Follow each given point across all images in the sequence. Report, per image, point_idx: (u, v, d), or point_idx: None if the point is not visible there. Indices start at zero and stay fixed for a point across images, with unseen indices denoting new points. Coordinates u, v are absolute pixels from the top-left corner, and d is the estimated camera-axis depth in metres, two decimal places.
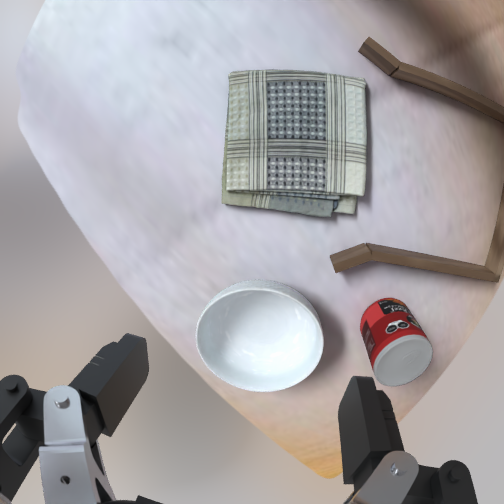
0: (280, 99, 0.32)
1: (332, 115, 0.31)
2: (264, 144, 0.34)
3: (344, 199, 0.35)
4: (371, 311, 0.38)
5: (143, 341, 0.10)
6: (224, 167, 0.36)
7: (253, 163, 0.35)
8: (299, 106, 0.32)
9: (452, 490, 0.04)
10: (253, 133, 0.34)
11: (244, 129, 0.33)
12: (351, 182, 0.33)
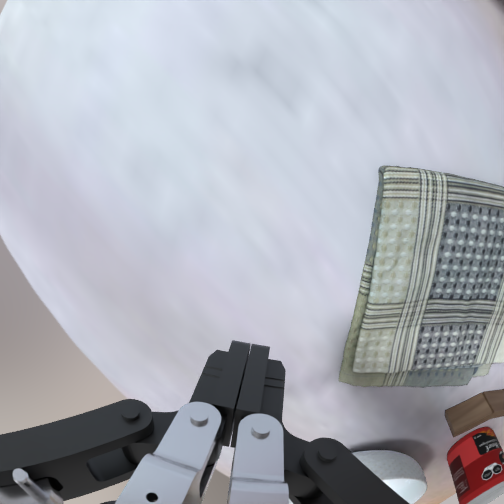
0: (460, 236, 0.17)
1: None
2: (421, 308, 0.19)
3: None
4: (466, 448, 0.23)
5: None
6: (352, 336, 0.21)
7: (400, 336, 0.20)
8: (482, 252, 0.16)
9: (316, 469, 0.05)
10: (412, 293, 0.19)
11: (401, 287, 0.18)
12: (503, 350, 0.18)
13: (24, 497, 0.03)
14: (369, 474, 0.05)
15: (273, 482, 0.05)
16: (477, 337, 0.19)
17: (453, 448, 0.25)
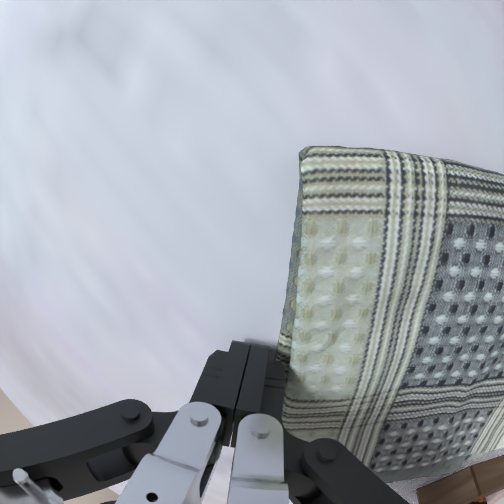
0: (470, 286, 0.08)
1: None
2: (386, 401, 0.11)
3: None
4: None
5: None
6: None
7: (347, 438, 0.11)
8: None
9: (316, 469, 0.05)
10: (367, 386, 0.10)
11: (344, 378, 0.10)
12: None
13: (24, 497, 0.03)
14: (369, 474, 0.05)
15: (273, 482, 0.05)
16: (476, 425, 0.10)
17: None
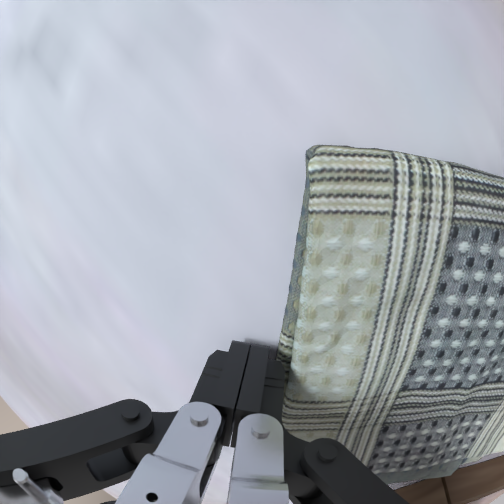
0: (473, 290, 0.08)
1: None
2: (386, 403, 0.11)
3: None
4: None
5: None
6: None
7: (346, 439, 0.11)
8: None
9: (316, 469, 0.05)
10: (368, 388, 0.10)
11: (345, 380, 0.10)
12: None
13: (24, 497, 0.03)
14: (369, 474, 0.05)
15: (273, 482, 0.05)
16: (474, 429, 0.10)
17: None
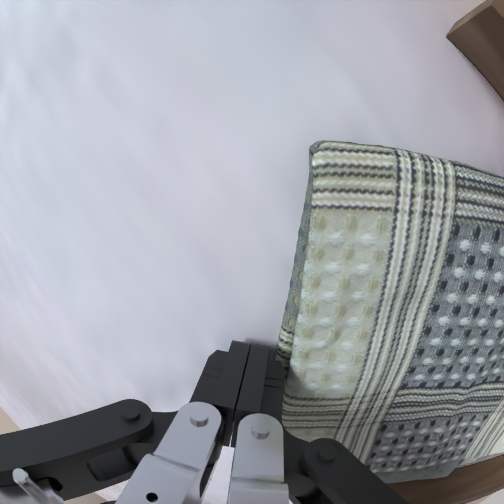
0: (473, 288, 0.08)
1: None
2: (385, 401, 0.11)
3: None
4: None
5: None
6: None
7: (344, 437, 0.11)
8: None
9: (316, 469, 0.05)
10: (367, 385, 0.10)
11: (344, 377, 0.10)
12: None
13: (24, 497, 0.03)
14: (369, 474, 0.05)
15: (273, 482, 0.05)
16: (472, 429, 0.10)
17: None
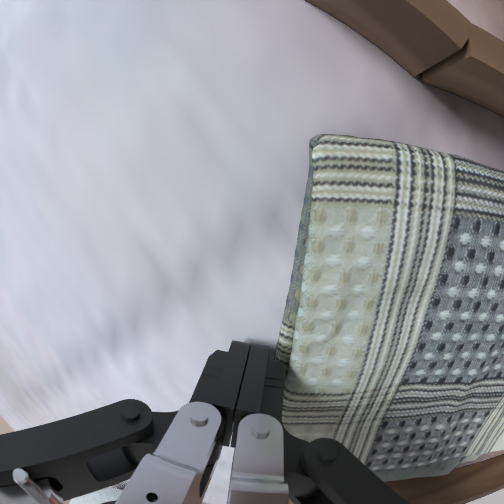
0: (474, 282, 0.08)
1: None
2: (386, 397, 0.11)
3: None
4: None
5: None
6: None
7: (345, 434, 0.11)
8: None
9: (316, 469, 0.05)
10: (368, 380, 0.10)
11: (345, 371, 0.10)
12: None
13: (24, 497, 0.03)
14: (369, 474, 0.05)
15: (273, 482, 0.05)
16: (473, 426, 0.10)
17: None
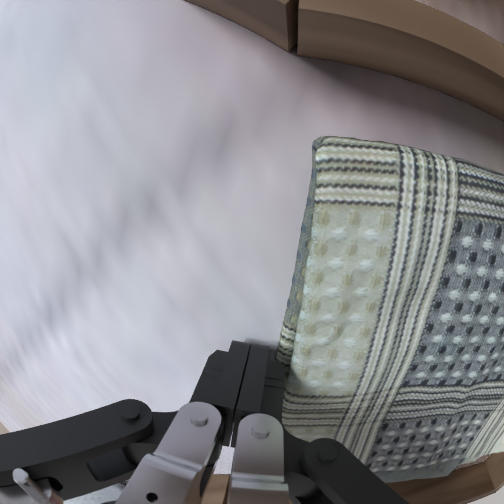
0: (475, 285, 0.08)
1: None
2: (386, 399, 0.11)
3: None
4: None
5: None
6: None
7: (345, 436, 0.11)
8: None
9: (316, 469, 0.05)
10: (369, 383, 0.10)
11: (346, 374, 0.10)
12: None
13: (24, 497, 0.03)
14: (369, 474, 0.05)
15: (273, 482, 0.05)
16: (473, 428, 0.10)
17: None
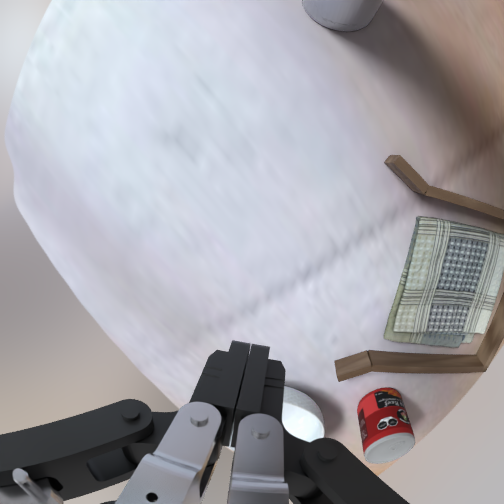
0: (455, 255, 0.31)
1: (485, 273, 0.31)
2: (432, 293, 0.34)
3: (469, 333, 0.35)
4: (368, 402, 0.39)
5: None
6: (394, 309, 0.36)
7: (420, 310, 0.34)
8: (466, 264, 0.31)
9: (316, 469, 0.05)
10: (428, 285, 0.33)
11: (422, 281, 0.33)
12: (480, 324, 0.33)
13: (24, 497, 0.03)
14: (369, 474, 0.05)
15: (273, 482, 0.05)
16: (463, 314, 0.33)
17: (359, 403, 0.41)
